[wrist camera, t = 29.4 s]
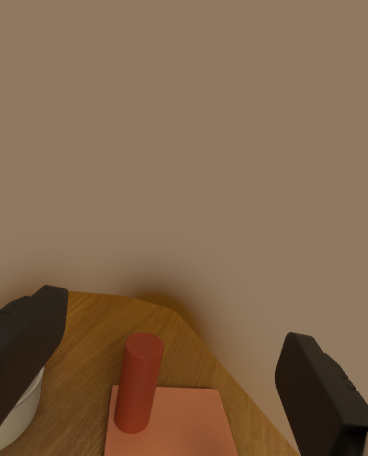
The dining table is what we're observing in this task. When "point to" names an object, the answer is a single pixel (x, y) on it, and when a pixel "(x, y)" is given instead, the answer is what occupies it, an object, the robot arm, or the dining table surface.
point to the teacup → (21, 413)
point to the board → (175, 426)
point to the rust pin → (138, 382)
